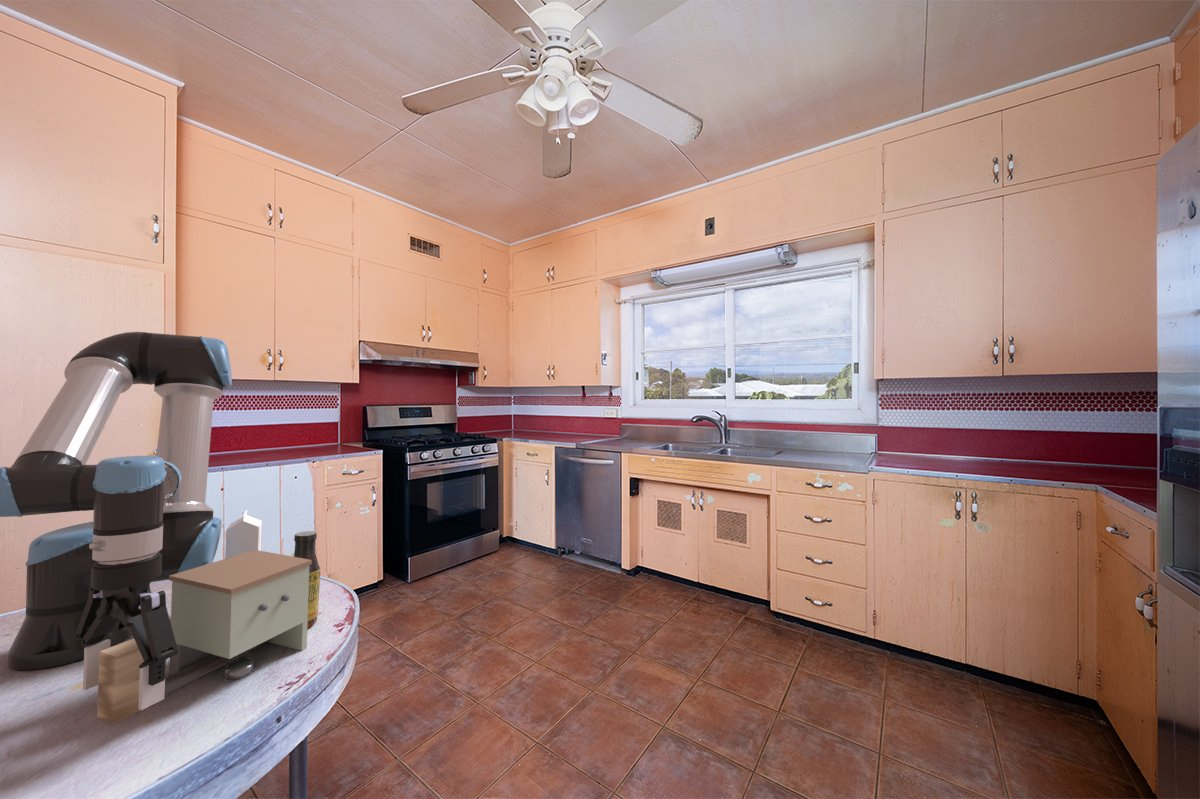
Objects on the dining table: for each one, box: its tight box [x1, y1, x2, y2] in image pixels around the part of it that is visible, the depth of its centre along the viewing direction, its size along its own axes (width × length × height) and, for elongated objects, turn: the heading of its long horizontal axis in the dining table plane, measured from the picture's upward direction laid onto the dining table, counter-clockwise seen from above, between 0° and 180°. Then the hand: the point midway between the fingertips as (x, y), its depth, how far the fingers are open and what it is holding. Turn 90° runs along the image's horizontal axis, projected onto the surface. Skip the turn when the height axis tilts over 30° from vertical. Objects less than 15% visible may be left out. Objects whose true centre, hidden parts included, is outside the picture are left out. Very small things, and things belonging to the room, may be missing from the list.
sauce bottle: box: [293, 530, 321, 629], centre depth 95 cm, size 7×6×20 cm
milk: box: [224, 509, 263, 559], centre depth 104 cm, size 6×6×22 cm
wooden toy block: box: [96, 637, 257, 724], centre depth 77 cm, size 4×21×10 cm, turn 163°
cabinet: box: [168, 550, 312, 675], centre depth 83 cm, size 16×15×17 cm
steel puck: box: [224, 657, 255, 682], centre depth 78 cm, size 4×4×2 cm
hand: (123, 694), depth 68 cm, fingers open, 13 cm apart
